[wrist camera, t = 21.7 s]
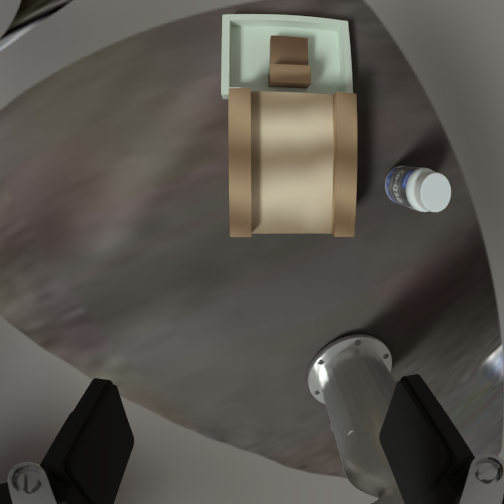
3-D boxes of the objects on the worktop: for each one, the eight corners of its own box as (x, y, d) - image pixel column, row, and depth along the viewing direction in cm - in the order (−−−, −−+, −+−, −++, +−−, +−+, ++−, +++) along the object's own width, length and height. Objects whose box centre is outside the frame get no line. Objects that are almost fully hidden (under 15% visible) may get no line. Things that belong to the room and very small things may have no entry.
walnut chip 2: (311, 83, 28) (310, 65, 27) (270, 82, 28) (270, 63, 27) (304, 92, 32) (303, 75, 31) (268, 90, 32) (267, 74, 31)
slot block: (337, 224, 36) (354, 236, 30) (233, 224, 36) (230, 237, 30) (338, 105, 33) (356, 93, 26) (232, 101, 32) (228, 88, 26)
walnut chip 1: (307, 38, 28) (304, 44, 30) (270, 35, 28) (269, 41, 30) (308, 69, 29) (305, 74, 31) (270, 67, 29) (269, 72, 31)
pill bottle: (383, 164, 34) (417, 166, 26) (416, 166, 34) (454, 169, 26) (383, 204, 36) (416, 216, 28) (416, 204, 36) (453, 216, 28)
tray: (346, 103, 32) (353, 99, 30) (223, 99, 32) (221, 94, 30) (342, 29, 30) (347, 21, 27) (224, 23, 30) (222, 14, 27)
